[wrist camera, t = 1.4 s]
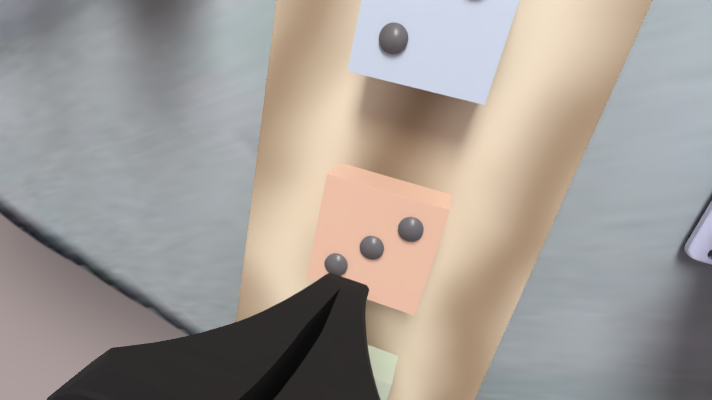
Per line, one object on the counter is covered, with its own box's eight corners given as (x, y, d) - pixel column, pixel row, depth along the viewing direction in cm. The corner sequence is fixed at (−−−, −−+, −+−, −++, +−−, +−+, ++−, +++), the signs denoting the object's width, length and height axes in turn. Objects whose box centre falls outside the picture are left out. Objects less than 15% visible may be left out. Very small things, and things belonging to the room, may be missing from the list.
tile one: (398, 355, 20) (391, 387, 18) (375, 424, 22) (366, 459, 20) (307, 322, 21) (291, 349, 19) (293, 391, 22) (276, 422, 21)
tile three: (451, 194, 17) (449, 211, 15) (419, 291, 18) (414, 317, 16) (341, 162, 17) (325, 174, 15) (321, 258, 19) (304, 279, 17)
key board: (667, -79, 14) (697, -101, 13) (444, 440, 24) (442, 470, 23) (315, -134, 17) (297, -159, 15) (244, 361, 27) (228, 383, 25)
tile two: (530, -46, 13) (542, -66, 11) (482, 100, 15) (485, 105, 13) (390, -71, 14) (378, -93, 12) (360, 71, 16) (346, 71, 14)
